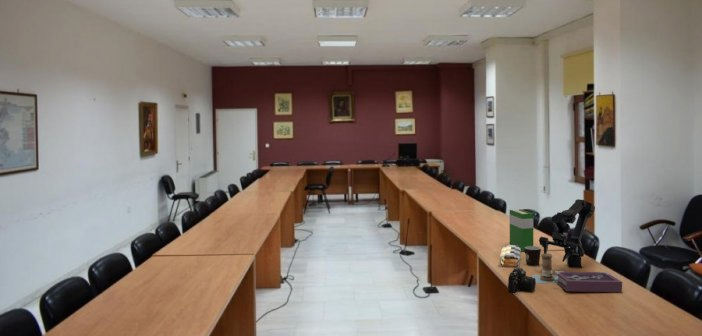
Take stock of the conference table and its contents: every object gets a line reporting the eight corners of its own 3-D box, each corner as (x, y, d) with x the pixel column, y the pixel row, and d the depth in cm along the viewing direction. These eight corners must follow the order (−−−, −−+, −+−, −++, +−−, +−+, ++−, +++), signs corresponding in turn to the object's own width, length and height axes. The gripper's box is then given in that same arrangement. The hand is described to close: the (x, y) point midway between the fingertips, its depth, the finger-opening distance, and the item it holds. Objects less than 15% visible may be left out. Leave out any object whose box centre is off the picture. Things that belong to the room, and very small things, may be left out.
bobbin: (549, 276, 259) (548, 252, 258) (557, 280, 253) (556, 255, 251) (537, 277, 258) (536, 253, 257) (545, 281, 251) (544, 257, 250)
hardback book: (509, 246, 331) (509, 209, 329) (520, 245, 332) (520, 209, 330) (522, 252, 314) (521, 214, 312) (533, 251, 315) (533, 213, 313)
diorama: (519, 269, 278) (519, 246, 277) (499, 268, 281) (499, 245, 280) (520, 258, 301) (520, 236, 300) (502, 257, 305) (502, 236, 304)
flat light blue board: (559, 277, 261) (559, 275, 261) (565, 285, 247) (565, 283, 247) (531, 276, 264) (531, 274, 264) (535, 284, 250) (535, 283, 250)
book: (605, 281, 251) (606, 271, 251) (622, 292, 235) (622, 281, 235) (553, 280, 252) (554, 271, 252) (566, 291, 236) (567, 280, 235)
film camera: (535, 296, 233) (535, 275, 232) (507, 294, 237) (507, 273, 237) (535, 285, 250) (535, 265, 249) (509, 283, 254) (509, 263, 253)
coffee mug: (542, 267, 279) (542, 249, 278) (525, 267, 281) (525, 249, 280) (538, 262, 290) (538, 245, 290) (523, 261, 292) (522, 244, 291)
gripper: (541, 221, 268) (532, 247, 261) (579, 229, 257) (570, 256, 250) (544, 232, 275) (536, 257, 269) (581, 239, 264) (573, 266, 258)
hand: (553, 259), depth 262 cm, fingers open, 9 cm apart
